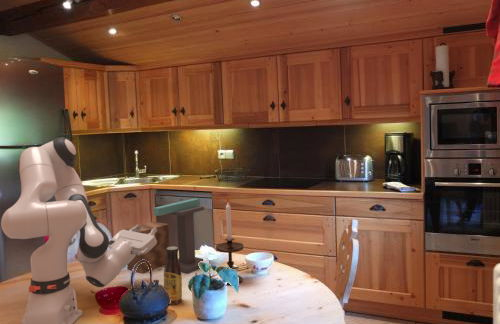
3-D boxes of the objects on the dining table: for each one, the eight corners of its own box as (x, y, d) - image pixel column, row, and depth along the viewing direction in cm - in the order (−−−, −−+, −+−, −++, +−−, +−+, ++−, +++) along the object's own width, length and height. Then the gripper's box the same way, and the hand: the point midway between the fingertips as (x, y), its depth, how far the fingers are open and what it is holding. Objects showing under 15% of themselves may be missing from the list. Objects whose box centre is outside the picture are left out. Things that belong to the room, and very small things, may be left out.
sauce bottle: (161, 303, 162) (158, 249, 160) (171, 297, 168) (169, 244, 166) (175, 306, 159) (173, 251, 157) (186, 300, 165) (183, 246, 163)
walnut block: (142, 273, 195) (139, 232, 193) (127, 269, 201) (124, 229, 199) (170, 263, 208) (168, 224, 206) (155, 259, 214) (153, 221, 212)
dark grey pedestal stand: (187, 273, 193) (184, 213, 190) (164, 268, 201) (161, 209, 198) (210, 264, 204) (207, 207, 201) (187, 259, 212) (184, 204, 209)
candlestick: (237, 287, 175) (233, 197, 171) (212, 284, 180) (208, 196, 176) (249, 278, 185) (246, 192, 181) (225, 275, 189) (222, 191, 186)
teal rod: (158, 215, 186) (158, 208, 186) (154, 215, 188) (153, 207, 188) (199, 205, 205) (199, 198, 205) (195, 204, 207) (194, 198, 207)
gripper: (137, 249, 167) (161, 224, 176) (104, 242, 179) (128, 218, 188) (145, 262, 170) (168, 236, 179) (111, 253, 182) (135, 230, 191)
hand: (147, 227), depth 183 cm, fingers open, 8 cm apart
